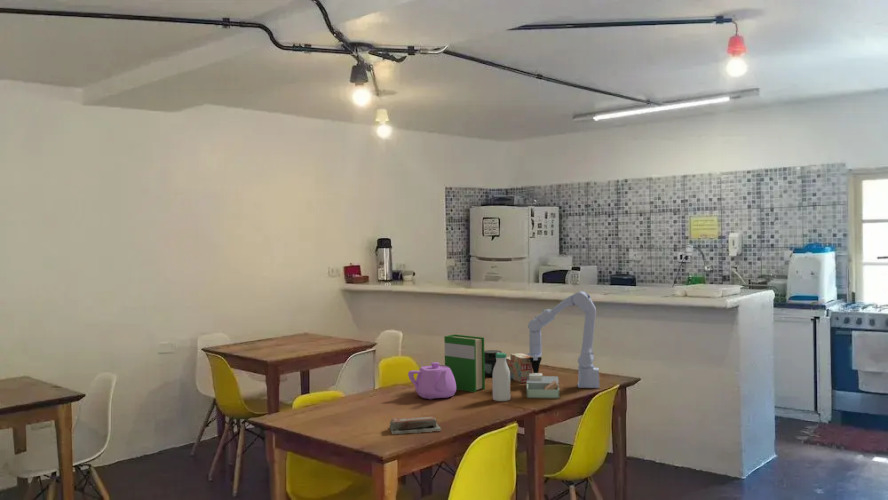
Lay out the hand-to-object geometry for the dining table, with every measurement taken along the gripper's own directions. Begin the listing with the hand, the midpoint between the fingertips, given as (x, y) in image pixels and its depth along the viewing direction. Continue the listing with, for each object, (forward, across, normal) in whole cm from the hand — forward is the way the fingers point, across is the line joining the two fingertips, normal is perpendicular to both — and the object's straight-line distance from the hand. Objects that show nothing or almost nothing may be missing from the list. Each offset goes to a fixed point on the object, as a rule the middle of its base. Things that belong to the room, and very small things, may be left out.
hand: (535, 372), depth 340 cm
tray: (+5, +24, +3) cm, 24 cm away
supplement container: (+5, -19, -22) cm, 29 cm away
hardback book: (+5, +12, -33) cm, 35 cm away
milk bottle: (+5, +33, -15) cm, 37 cm away
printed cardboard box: (+6, -12, -9) cm, 16 cm away
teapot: (+6, +29, -44) cm, 53 cm away
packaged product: (+6, +82, -44) cm, 93 cm away
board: (+5, +10, +3) cm, 12 cm away
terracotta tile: (+3, +21, +7) cm, 22 cm away
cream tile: (+1, +8, 0) cm, 8 cm away
